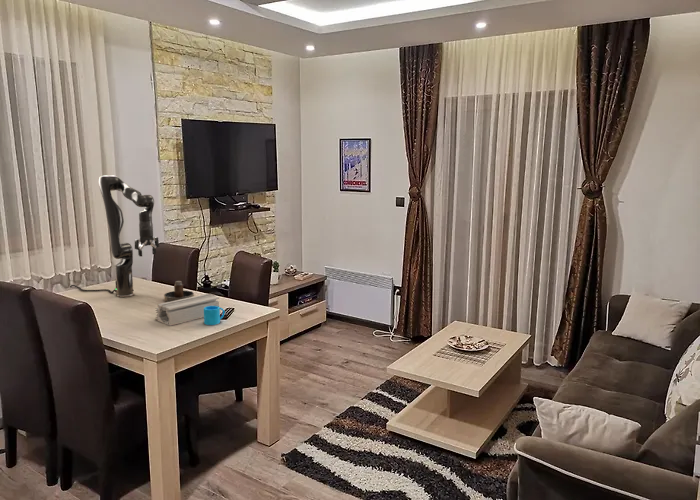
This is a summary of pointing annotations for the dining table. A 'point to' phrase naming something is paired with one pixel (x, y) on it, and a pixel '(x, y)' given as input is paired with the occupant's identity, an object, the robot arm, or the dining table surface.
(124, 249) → the robot arm
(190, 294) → the pan
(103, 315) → the dining table surface
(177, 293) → the pepper mill
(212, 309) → the mug
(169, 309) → the aluminum extrusion profile
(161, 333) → the dining table surface
